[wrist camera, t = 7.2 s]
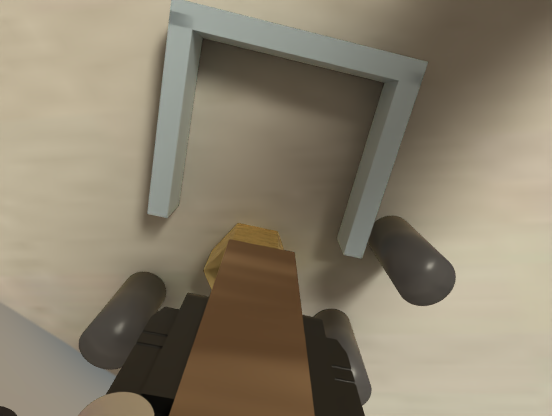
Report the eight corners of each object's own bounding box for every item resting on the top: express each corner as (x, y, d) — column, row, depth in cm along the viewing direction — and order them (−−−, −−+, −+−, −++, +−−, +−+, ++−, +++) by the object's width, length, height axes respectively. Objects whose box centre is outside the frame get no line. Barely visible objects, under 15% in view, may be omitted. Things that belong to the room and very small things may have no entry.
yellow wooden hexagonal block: (217, 218, 23) (209, 235, 20) (297, 234, 23) (300, 253, 20) (206, 279, 24) (197, 303, 22) (281, 294, 25) (282, 319, 22)
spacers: (137, 159, 22) (87, 181, 16) (417, 220, 23) (464, 261, 17) (120, 330, 26) (76, 397, 20) (359, 375, 27) (381, 449, 21)
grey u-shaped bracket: (185, 9, 19) (171, -3, 17) (410, 66, 20) (428, 61, 17) (161, 201, 22) (147, 213, 20) (353, 242, 23) (362, 258, 21)
